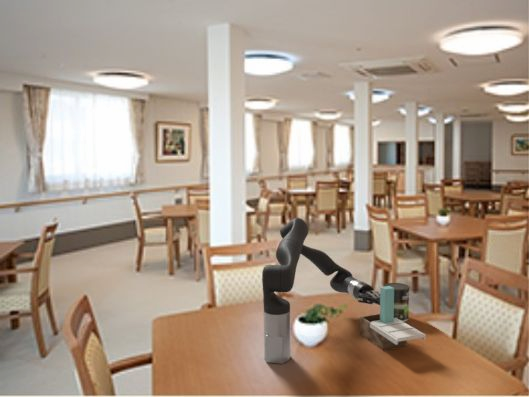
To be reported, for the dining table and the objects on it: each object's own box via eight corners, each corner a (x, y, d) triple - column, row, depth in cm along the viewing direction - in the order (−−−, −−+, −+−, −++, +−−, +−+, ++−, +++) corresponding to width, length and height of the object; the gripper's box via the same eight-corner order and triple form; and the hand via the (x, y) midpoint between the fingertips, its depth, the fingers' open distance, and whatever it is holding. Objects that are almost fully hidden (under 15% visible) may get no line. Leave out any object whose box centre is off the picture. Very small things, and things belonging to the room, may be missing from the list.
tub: (406, 346, 170) (406, 328, 170) (382, 350, 167) (383, 332, 166) (381, 330, 185) (381, 313, 185) (359, 334, 182) (360, 317, 181)
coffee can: (412, 316, 200) (412, 285, 198) (403, 324, 192) (404, 291, 190) (389, 312, 206) (389, 281, 205) (380, 318, 198) (380, 287, 196)
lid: (425, 339, 161) (426, 297, 160) (396, 344, 157) (396, 301, 156) (397, 322, 177) (397, 284, 175) (369, 327, 173) (370, 287, 171)
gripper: (346, 283, 187) (369, 296, 171) (374, 280, 192) (399, 292, 175) (346, 301, 188) (369, 315, 172) (374, 297, 192) (399, 311, 176)
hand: (384, 303), depth 174 cm, fingers closed
